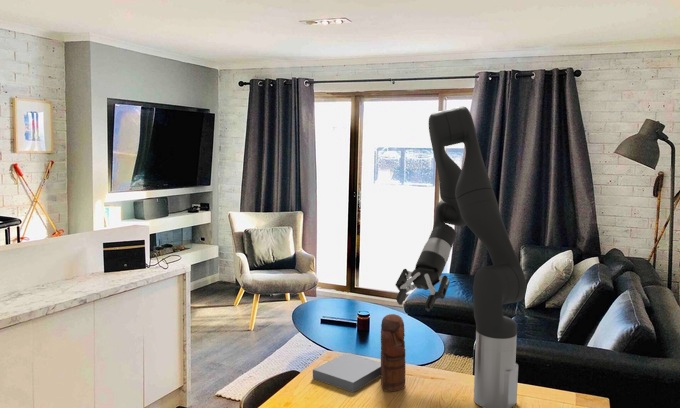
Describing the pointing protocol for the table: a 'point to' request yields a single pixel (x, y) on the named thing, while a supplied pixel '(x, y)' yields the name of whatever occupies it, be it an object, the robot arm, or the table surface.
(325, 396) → the table surface
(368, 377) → the base
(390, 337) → the wooden figurine
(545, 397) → the table surface
